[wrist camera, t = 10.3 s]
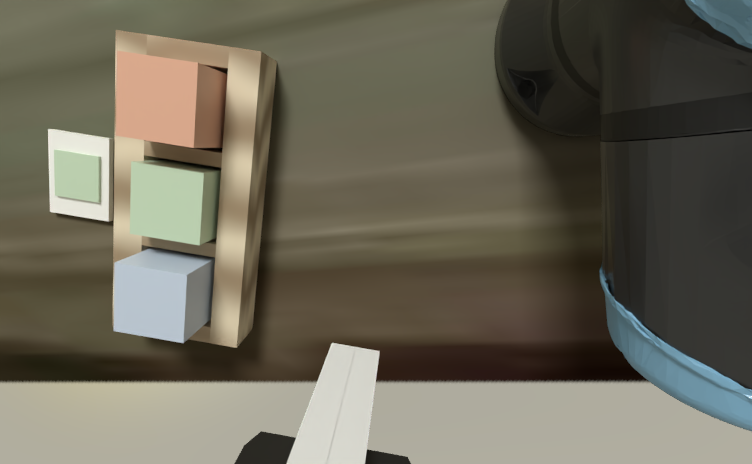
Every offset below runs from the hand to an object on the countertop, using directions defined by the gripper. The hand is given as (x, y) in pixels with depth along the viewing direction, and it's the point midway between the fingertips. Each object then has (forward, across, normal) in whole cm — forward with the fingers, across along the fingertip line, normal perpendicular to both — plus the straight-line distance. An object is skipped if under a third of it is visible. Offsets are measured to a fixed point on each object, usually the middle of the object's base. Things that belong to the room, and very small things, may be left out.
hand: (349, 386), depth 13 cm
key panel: (+26, -18, 0) cm, 32 cm away
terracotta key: (+23, -18, +8) cm, 31 cm away
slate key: (+23, -18, -8) cm, 31 cm away
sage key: (+25, -18, 0) cm, 31 cm away
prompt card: (+26, -30, 0) cm, 40 cm away
